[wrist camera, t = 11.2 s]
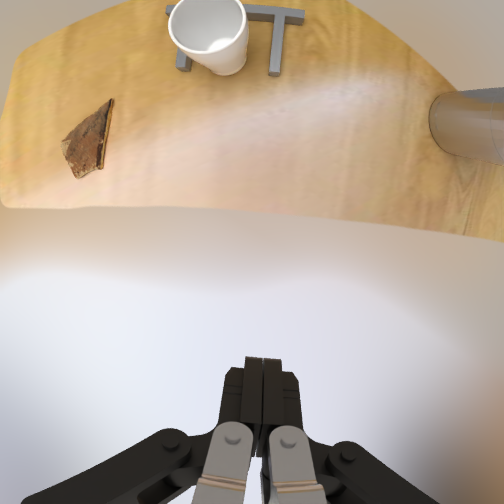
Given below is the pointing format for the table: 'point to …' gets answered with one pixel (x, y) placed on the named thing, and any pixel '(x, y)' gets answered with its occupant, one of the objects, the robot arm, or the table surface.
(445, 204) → the table surface
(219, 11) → the white cup
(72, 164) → the shard
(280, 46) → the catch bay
